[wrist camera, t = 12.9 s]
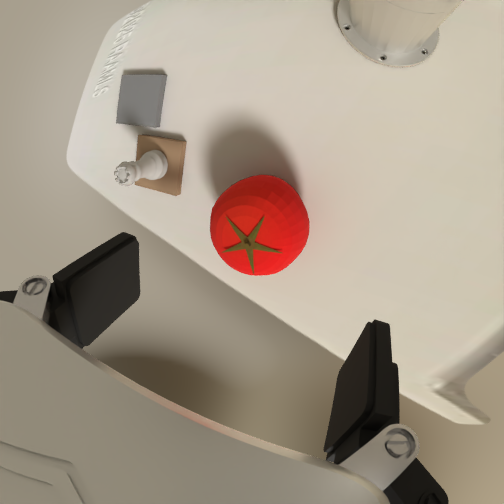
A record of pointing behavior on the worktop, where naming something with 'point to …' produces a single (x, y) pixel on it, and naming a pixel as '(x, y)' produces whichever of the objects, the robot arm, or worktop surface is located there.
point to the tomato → (259, 225)
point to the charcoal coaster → (141, 100)
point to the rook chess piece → (142, 168)
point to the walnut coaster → (175, 160)
